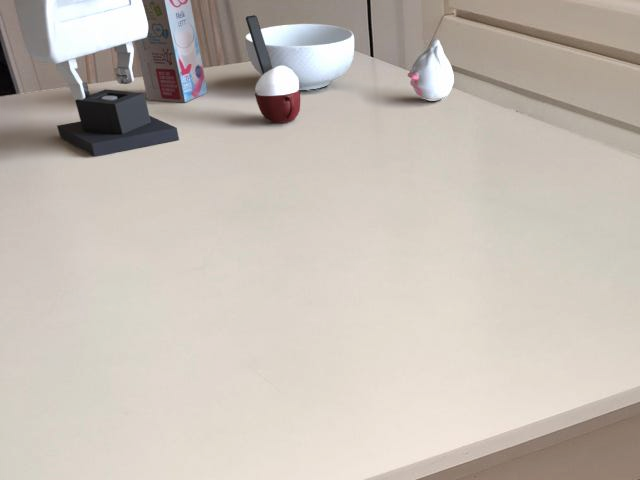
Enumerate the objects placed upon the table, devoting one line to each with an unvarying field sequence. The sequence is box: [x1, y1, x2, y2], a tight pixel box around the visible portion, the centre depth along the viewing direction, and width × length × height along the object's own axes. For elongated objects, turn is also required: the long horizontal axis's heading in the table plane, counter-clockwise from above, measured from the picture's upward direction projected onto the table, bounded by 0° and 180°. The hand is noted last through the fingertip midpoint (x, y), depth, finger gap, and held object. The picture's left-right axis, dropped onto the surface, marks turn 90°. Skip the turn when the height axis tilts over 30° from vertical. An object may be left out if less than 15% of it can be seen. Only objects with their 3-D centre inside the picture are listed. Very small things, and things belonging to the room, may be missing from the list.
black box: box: [74, 88, 151, 134], centre depth 122 cm, size 6×6×4 cm
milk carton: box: [134, 0, 208, 104], centre depth 134 cm, size 7×7×22 cm
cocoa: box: [245, 14, 301, 124], centre depth 127 cm, size 10×6×12 cm, turn 12°
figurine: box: [407, 38, 455, 99], centre depth 136 cm, size 7×7×8 cm
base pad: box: [56, 96, 180, 157], centre depth 123 cm, size 12×12×5 cm
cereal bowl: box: [244, 23, 355, 90], centre depth 144 cm, size 17×17×7 cm
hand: (104, 90), depth 120 cm, fingers open, 8 cm apart
